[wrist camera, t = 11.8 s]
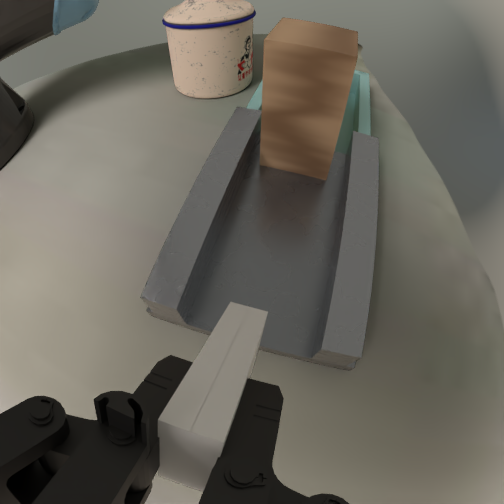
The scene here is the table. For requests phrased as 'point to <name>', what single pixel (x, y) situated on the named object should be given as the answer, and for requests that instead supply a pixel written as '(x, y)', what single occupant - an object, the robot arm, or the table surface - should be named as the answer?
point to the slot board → (275, 248)
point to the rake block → (305, 94)
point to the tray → (354, 112)
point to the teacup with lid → (211, 46)
